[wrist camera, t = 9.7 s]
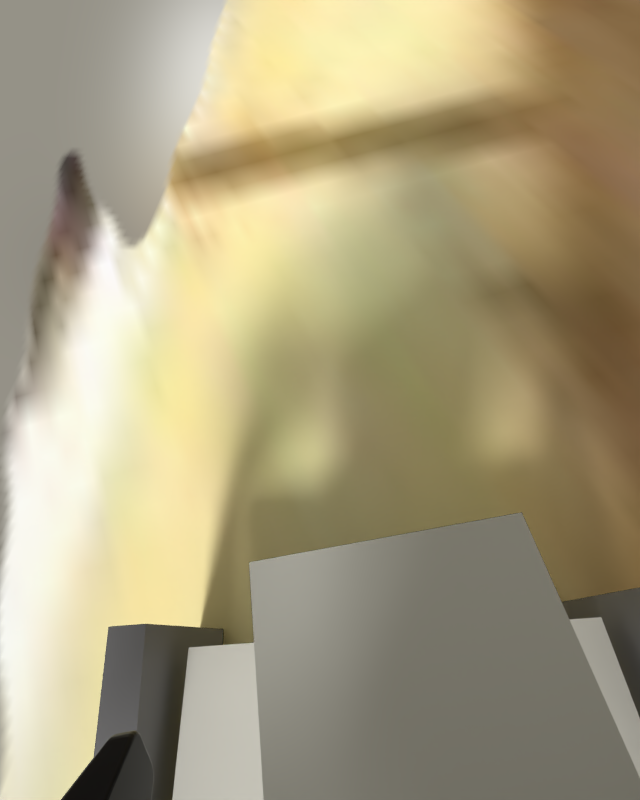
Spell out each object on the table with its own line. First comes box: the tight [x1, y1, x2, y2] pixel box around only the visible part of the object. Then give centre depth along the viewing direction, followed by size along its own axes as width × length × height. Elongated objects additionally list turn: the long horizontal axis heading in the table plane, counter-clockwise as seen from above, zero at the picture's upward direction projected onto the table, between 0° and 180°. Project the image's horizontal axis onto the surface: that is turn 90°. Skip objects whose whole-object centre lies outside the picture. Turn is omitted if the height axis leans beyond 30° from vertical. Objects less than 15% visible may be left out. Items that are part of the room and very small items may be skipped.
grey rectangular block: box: [249, 512, 640, 800], centre depth 10 cm, size 5×5×7 cm
